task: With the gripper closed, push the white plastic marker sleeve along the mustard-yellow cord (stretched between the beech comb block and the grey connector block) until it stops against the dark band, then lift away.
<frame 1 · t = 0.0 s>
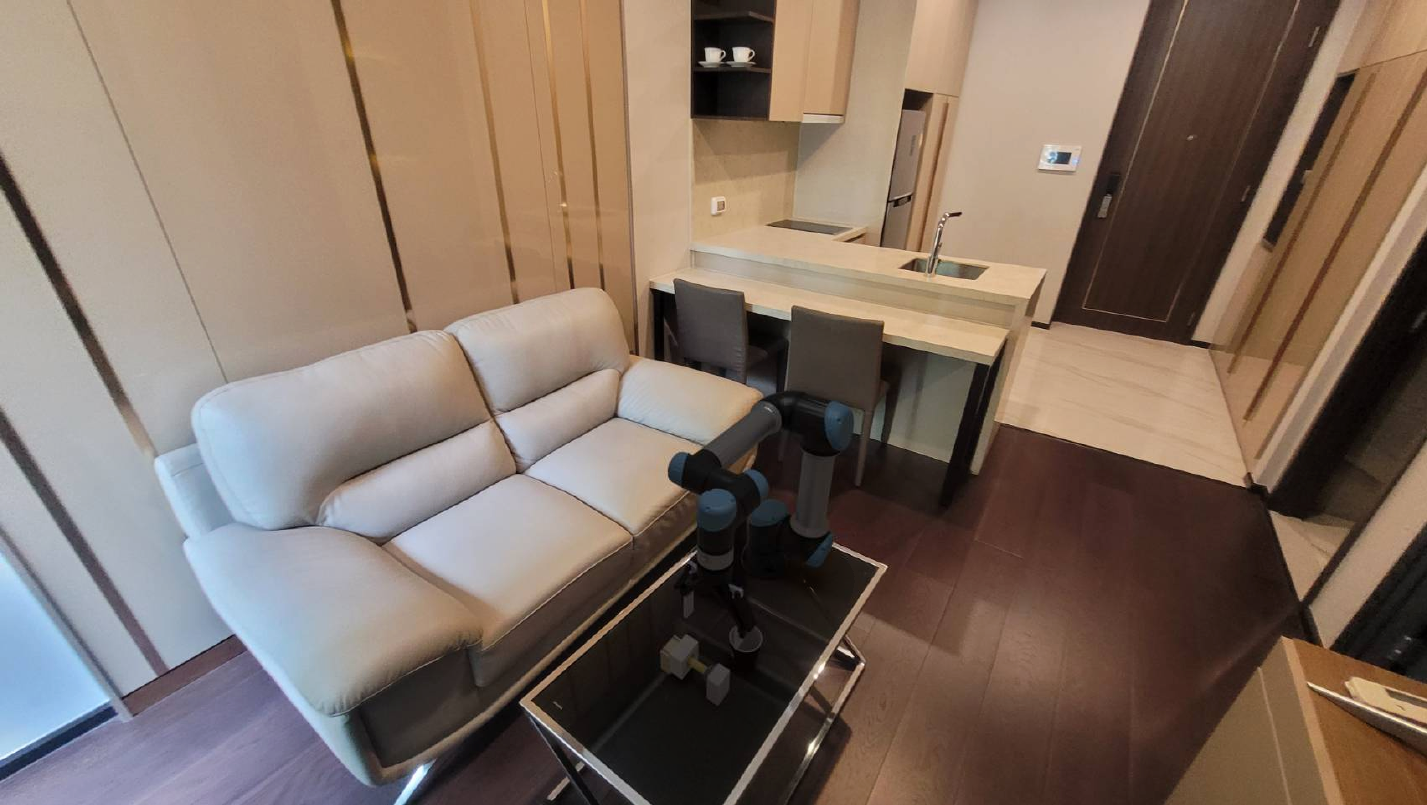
hand: (712, 628, 116), 28 cm above the table, fingers open, 13 cm apart
cord rig: (694, 678, 136), on the table
sleeve: (684, 656, 135), point 6 cm above the table, slide at 0.0 cm
coffee mug: (744, 657, 142), on the table
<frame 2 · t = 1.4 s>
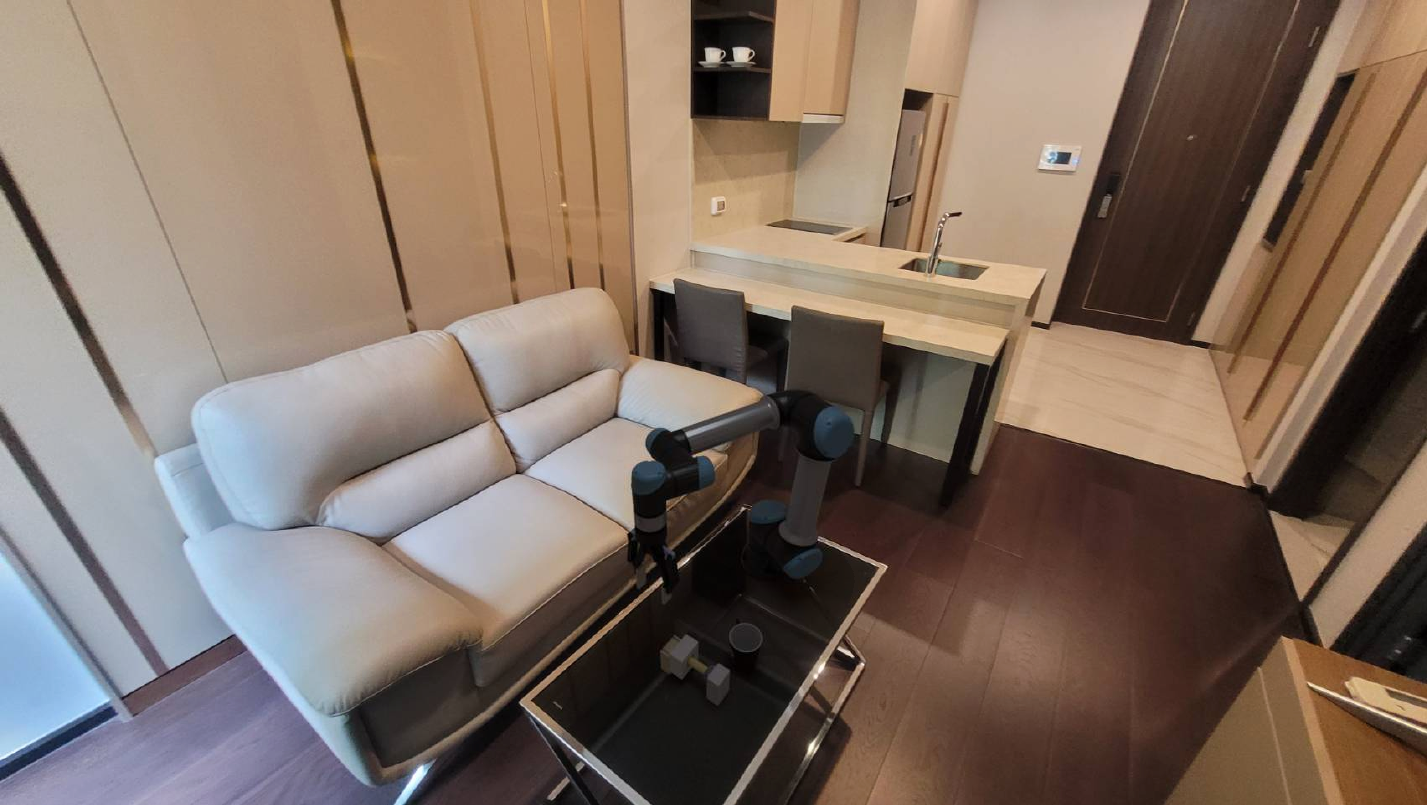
hand: (653, 592, 131), 23 cm above the table, fingers open, 8 cm apart
nothing on the table moved.
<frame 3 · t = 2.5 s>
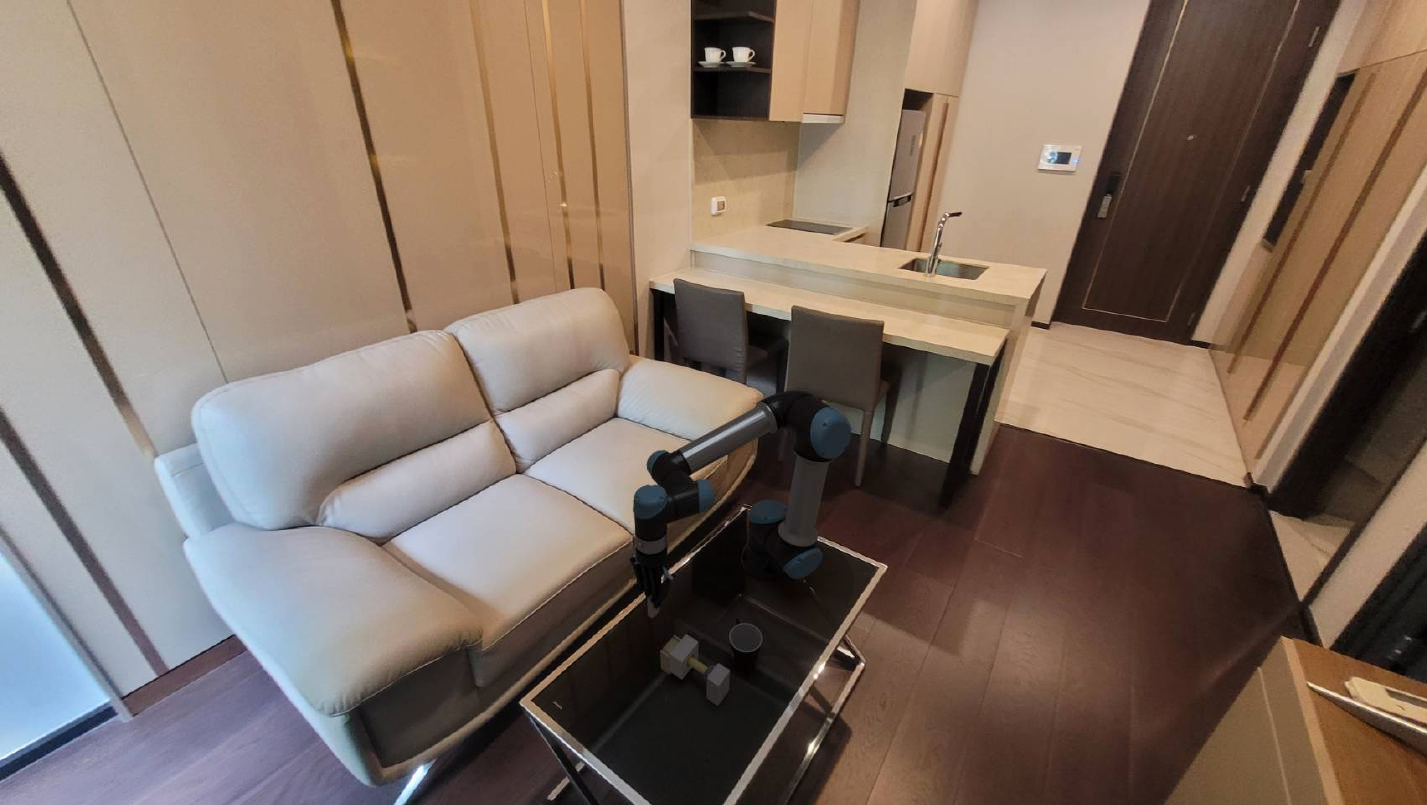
hand: (653, 613, 135), 16 cm above the table, fingers closed
nothing on the table moved.
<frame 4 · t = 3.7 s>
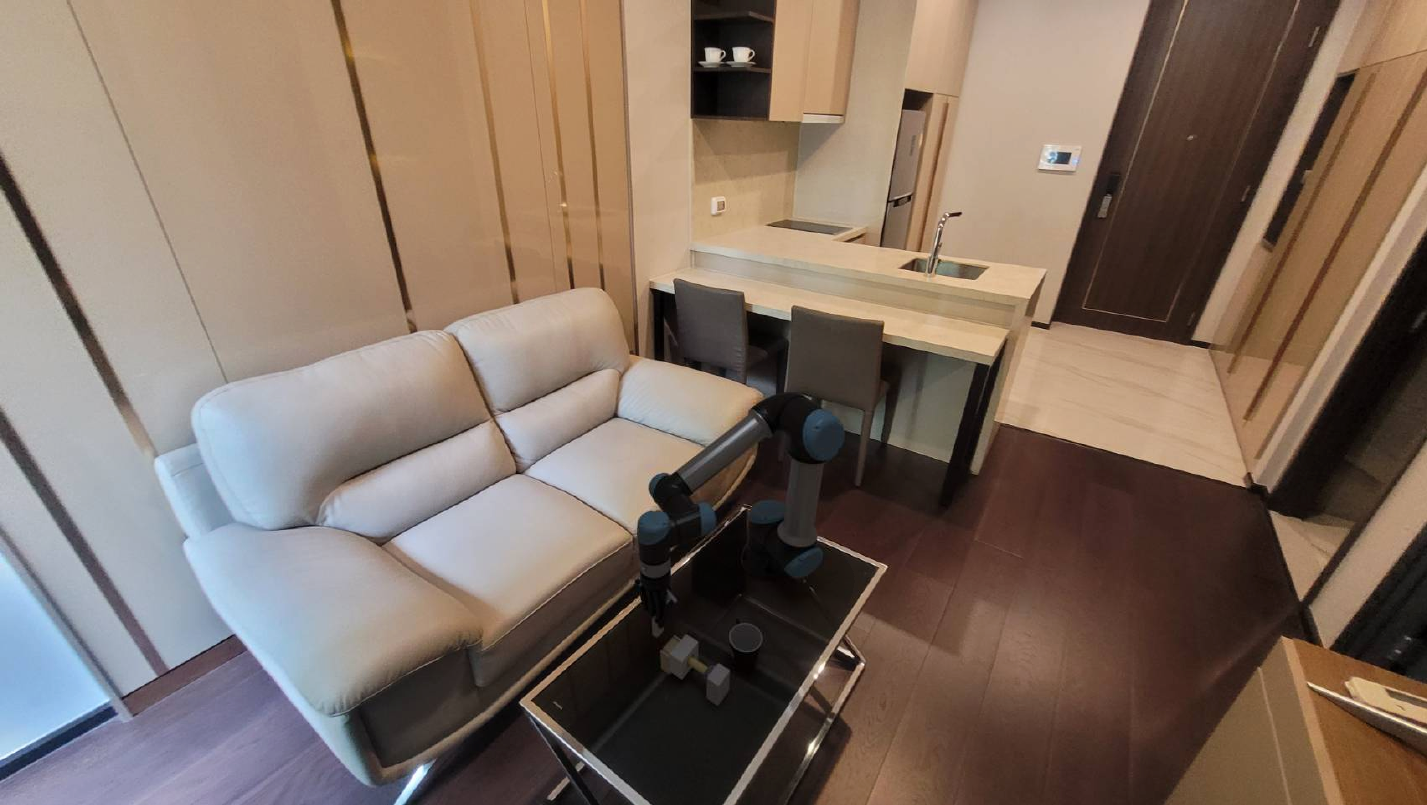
hand: (658, 632, 138), 9 cm above the table, fingers closed
nothing on the table moved.
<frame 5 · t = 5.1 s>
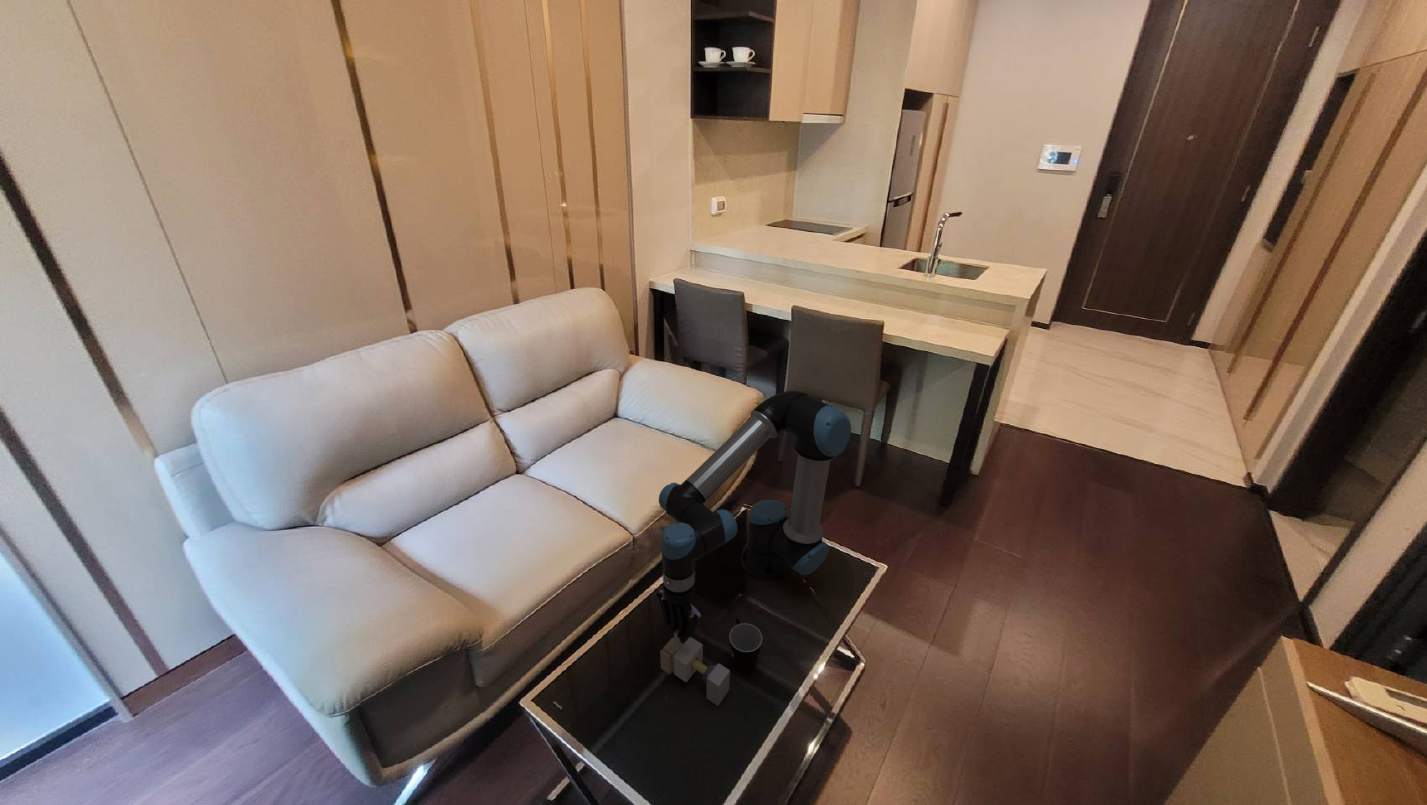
hand: (679, 647, 134), 9 cm above the table, fingers closed
sleeve: (688, 659, 134), point 6 cm above the table, slide at 1.4 cm, touching gripper
everything else where it was.
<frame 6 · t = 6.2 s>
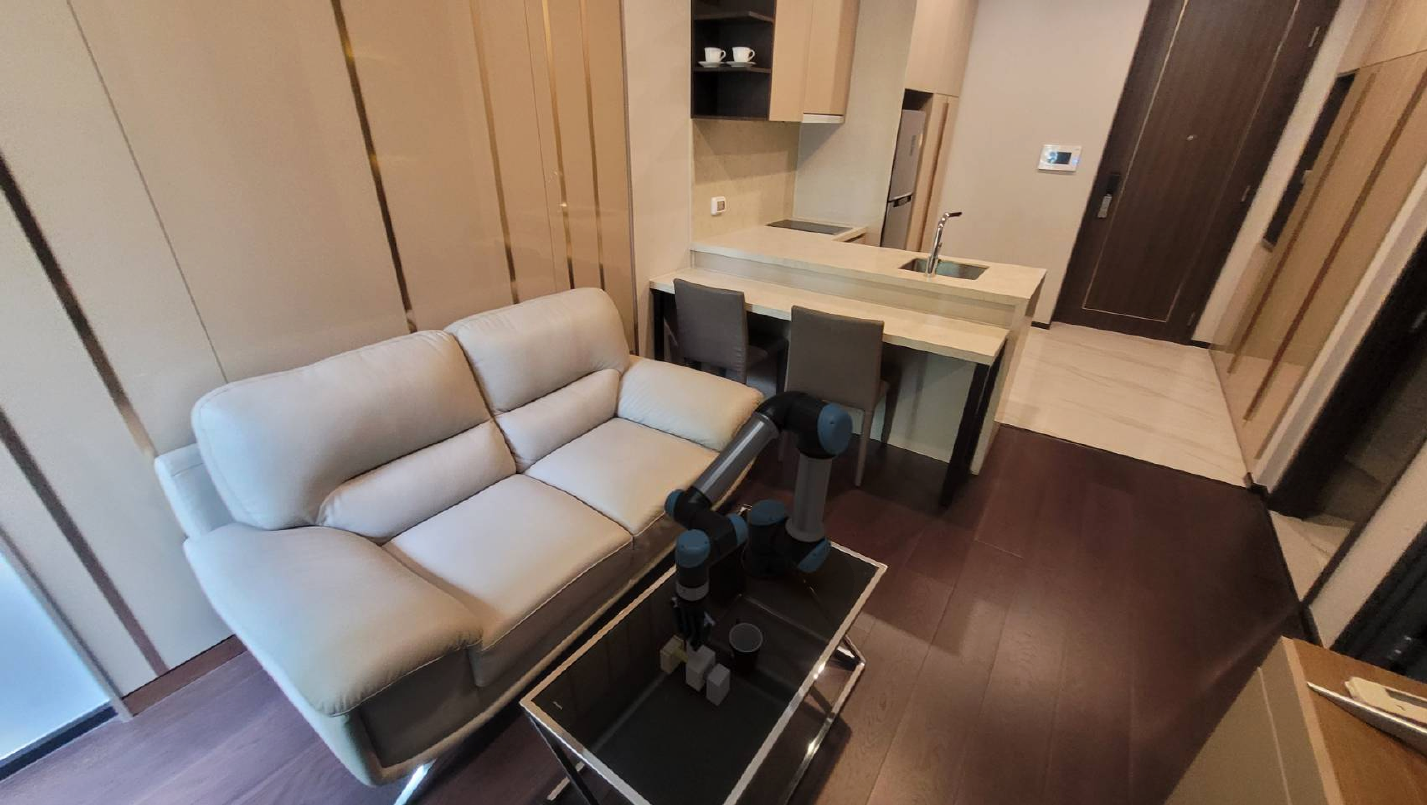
hand: (692, 655, 132), 9 cm above the table, fingers closed
sleeve: (700, 667, 132), point 6 cm above the table, slide at 5.3 cm, touching gripper
everything else where it was.
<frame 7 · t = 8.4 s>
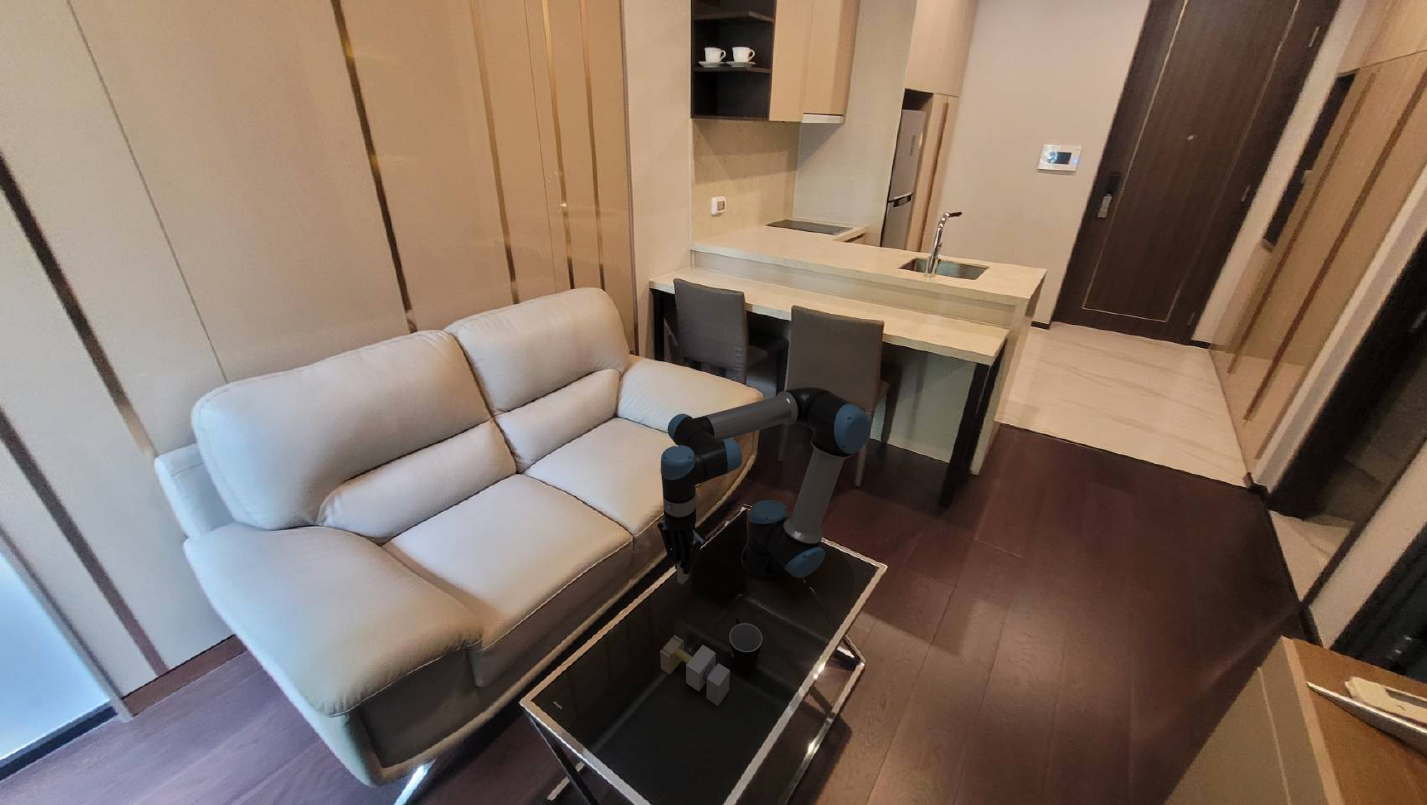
hand: (683, 579, 132), 25 cm above the table, fingers closed
sleeve: (700, 667, 132), point 6 cm above the table, slide at 5.4 cm
everything else where it was.
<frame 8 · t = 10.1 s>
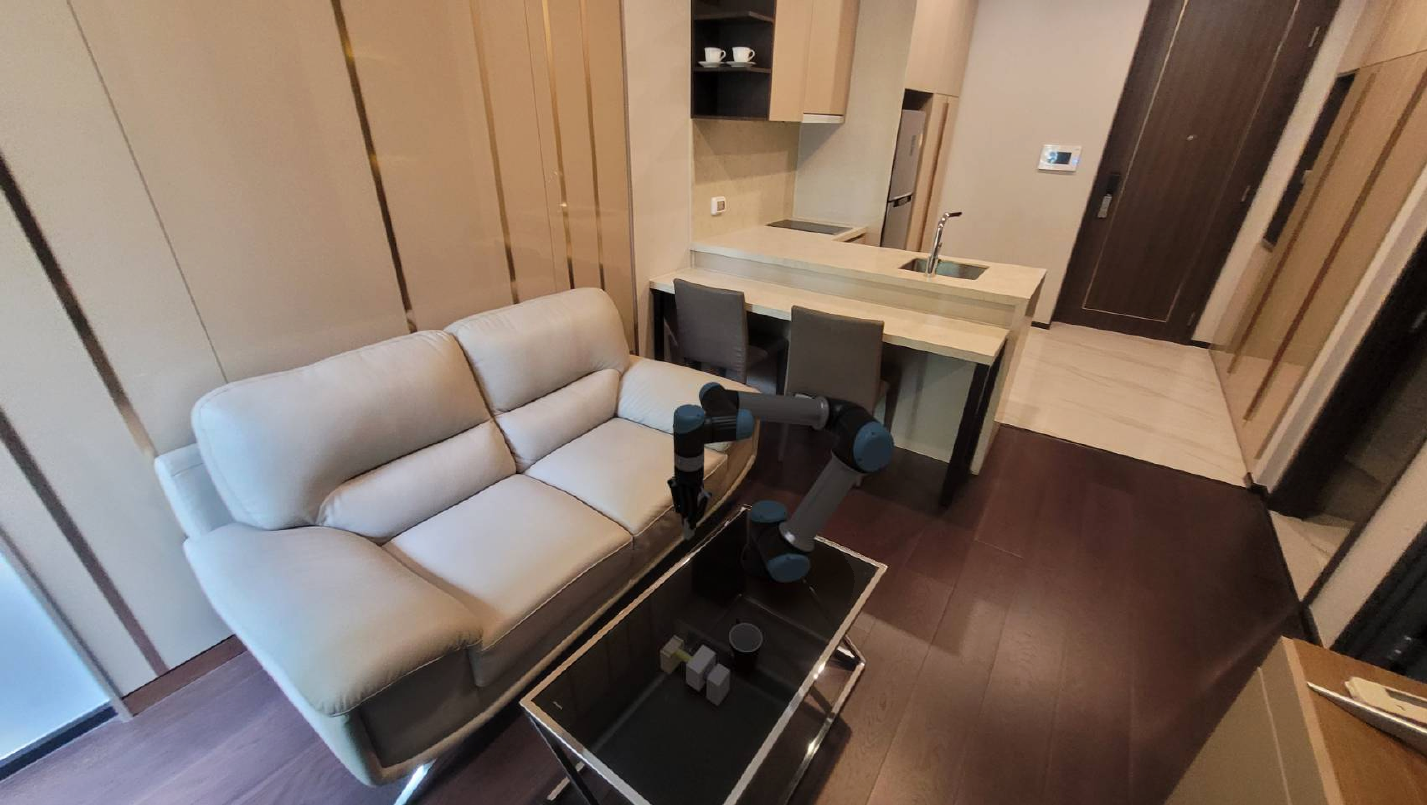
hand: (689, 536, 140), 29 cm above the table, fingers closed
nothing on the table moved.
at the end: sleeve slide at 5.4 cm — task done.
